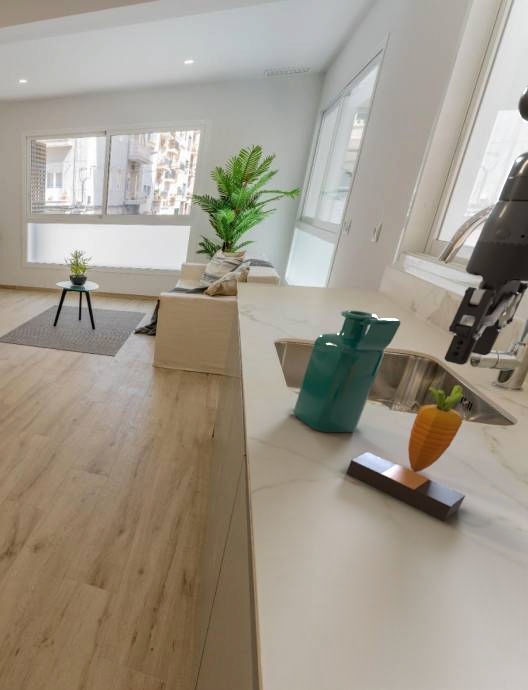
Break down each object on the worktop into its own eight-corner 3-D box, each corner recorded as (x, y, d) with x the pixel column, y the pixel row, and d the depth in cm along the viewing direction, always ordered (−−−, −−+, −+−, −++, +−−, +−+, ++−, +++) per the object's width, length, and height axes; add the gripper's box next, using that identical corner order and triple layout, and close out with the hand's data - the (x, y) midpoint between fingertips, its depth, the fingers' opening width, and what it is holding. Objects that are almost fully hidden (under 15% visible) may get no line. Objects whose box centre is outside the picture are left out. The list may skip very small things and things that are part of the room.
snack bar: (362, 464, 69) (367, 451, 68) (458, 509, 60) (466, 494, 59) (345, 473, 67) (351, 459, 66) (443, 521, 57) (451, 506, 56)
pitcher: (288, 411, 86) (320, 305, 77) (327, 411, 86) (363, 306, 78) (322, 437, 77) (363, 320, 68) (366, 437, 77) (412, 320, 69)
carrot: (405, 478, 66) (444, 391, 60) (388, 460, 71) (423, 378, 65) (442, 483, 65) (486, 396, 59) (423, 465, 69) (461, 382, 64)
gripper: (546, 244, 48) (483, 376, 54) (580, 240, 54) (520, 358, 60) (459, 238, 54) (411, 357, 60) (499, 235, 60) (452, 343, 66)
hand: (466, 357), depth 60 cm, fingers open, 8 cm apart
